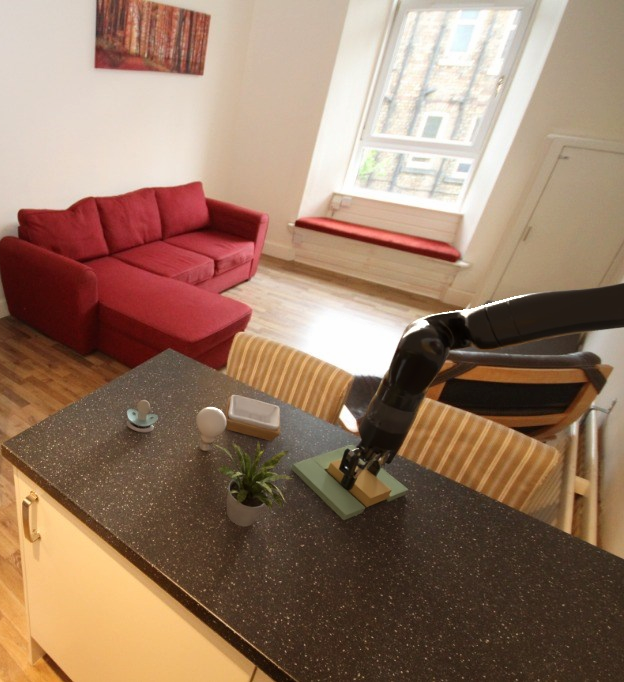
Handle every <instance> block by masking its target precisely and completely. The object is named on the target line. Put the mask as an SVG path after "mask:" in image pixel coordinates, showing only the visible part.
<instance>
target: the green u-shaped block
mask: <svg viewBox="0 0 624 682" xmlns="http://www.w3.org/2000/svg"><path fill="white" fill-rule="evenodd" d="M356 447H357V446H355V445H354V444H349V445H346V446H344V447H339V448H337V449H334V450H330V451H327V452H325V453H322V454H318V455H316V456H313V457H310V458H307V459H304V460H301V461H297V462H295V463H293V464H292V465H291V467H290V469H291V470H292V471H293V472H294V473H295V474H296V476H298V477H299V478H300V479H301V480H302V481H303V482H304V483H305V485H307V486H308V487H309V488H310V489H311V490H312V491H313V492H314V493H315V495H317V497H319V498H320V499H321V500H322V501H323V502H324V503H325V504H326V505H327V506H328V507H329V508H330V509H331V510H332V511H333V512H334V513H335V514H336V515H338V516H339V518H340V519H341V520H342V521H346V520H349V519H350V518H352V517H355V516H358V515H360V514H362V513H364V511H365V509H366V506H365V505H363V504H362V503H361V502H360V501H359V500H358V499H357V498H356V497H355V496H354V495H352V494H351V493H350V492H349V491H348V490H347V489H346V488H345V487H344V486H342V485H341V484H340V483H339V482H338V481H337V480H336V479H335V478H334V477H333V476H332V475H330V474H329V473H328V472H327V469H328V467H329V465H330V463H331V462H334V461H337V460H340V459H342V457H343V454H344V451H345V450H346V449H347V448H349V449H351V450H352V451H353V450H355V449H356ZM359 460H360V462H361V463H362V464H363V465H364V464H365V462H363V461H362V460H361V459H360V458H359ZM376 477H377V478H378V479H379V480H380V481H381V482H383V483H384V484H385V485H386V486H387V487H389V488H390V489H391V490H392V491H391V492H390V494H389V496H388V498H387V499H385V500H386V501H387V502H388V503H389V502H391V501H393V500H396V499H398V498H401V497H403V496H405V495H407V493H408V491H409V489H408V488H407V487H406V486H405V485H404V484H402V483H401V482H400V481H398V480H397V479H396V478H395V477H393V476H392V475H391V474H390V473H389V472H387V471H386V470H385V469H384V468H382V469H380V471H379V472H378V474H377V476H376Z"/></svg>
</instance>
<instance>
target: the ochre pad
mask: <svg viewBox="0 0 624 682" xmlns="http://www.w3.org/2000/svg"><path fill="white" fill-rule="evenodd" d="M341 461H342V459H340V460H337V461H334V462H331V463H330V465H329V467H328V469H327V473H328V474H329V475H330V476H332V477H333V478H334V479H335V480H336V481H337V482H338V483H339V484H340V485H341V486H342V484H341V480H342V478H343V476H344V474H343V473H342V472H341V471H340V470H339V467H340V464H341ZM357 469H358V466H357V467H356V469H355V471H356V470H357ZM347 491H348V492H349V493H350V494H351V495H352V496H353V497H355V498H356V499H357V500H358V501H359V502H360V503H361V504H362V505H363V506H364V507H365V508H368V507H370V506H373V505H376V504H378V503H381V502H382V501H385V500H386V499H387V498H388V496H389V494H390V492H391V491H392V490H391V489H390V488H389V487H387V486H386V485H385V484H384V483H383V482H381V481H380V480H379V479H378V478H377V477H375V476H374V475H373V474H372V473H370V472H369V471H368V470H363V471H362V472H361V473H360V475H359V476H358V478H357V480H356V482H355V484H354V486H353V488H352V489H351V490H347Z"/></svg>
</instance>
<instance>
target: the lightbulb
mask: <svg viewBox="0 0 624 682" xmlns="http://www.w3.org/2000/svg"><path fill="white" fill-rule="evenodd" d="M195 424H196V425H195V426H196V427H197V430H198V431H199V436H200V437H199V438H200V440H199V444H198V447H199V449H200V450H202V451H204V452H210V451H211V450H212V447H213V444H214V442H215V440H216V438H217V437H219V436H220V435H221V434H223V432H225V430H226V429H227V428H226V417H225V413H224V412H223V410H221V409H219V408H217V407H215V406H207V407H204V408H202V409H201V410H199V412H198V413H197V415H196V419H195ZM211 443H212V444H211Z"/></svg>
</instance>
